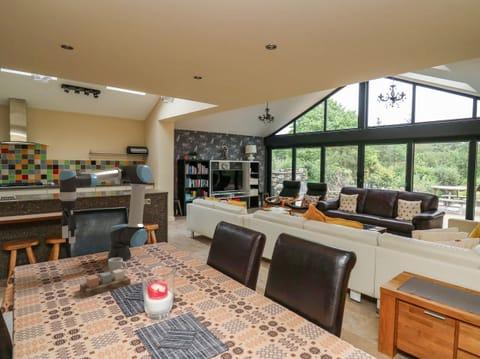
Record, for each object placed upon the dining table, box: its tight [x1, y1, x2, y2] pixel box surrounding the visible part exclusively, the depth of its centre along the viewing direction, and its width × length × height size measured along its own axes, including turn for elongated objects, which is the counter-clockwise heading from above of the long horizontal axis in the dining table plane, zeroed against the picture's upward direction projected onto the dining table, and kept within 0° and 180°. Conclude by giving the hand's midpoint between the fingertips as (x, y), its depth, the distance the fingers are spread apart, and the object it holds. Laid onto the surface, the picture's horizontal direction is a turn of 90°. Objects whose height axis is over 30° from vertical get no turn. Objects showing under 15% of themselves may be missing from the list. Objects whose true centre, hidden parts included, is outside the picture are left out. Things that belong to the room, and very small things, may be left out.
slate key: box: [99, 271, 112, 285], centre depth 149 cm, size 4×4×4 cm
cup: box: [107, 257, 127, 274], centre depth 169 cm, size 11×8×8 cm
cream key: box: [112, 269, 125, 281], centre depth 153 cm, size 4×4×4 cm
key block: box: [79, 274, 132, 298], centre depth 149 cm, size 21×11×3 cm, turn 136°
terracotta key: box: [85, 274, 100, 288], centre depth 144 cm, size 4×4×4 cm
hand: (68, 240), depth 149 cm, fingers open, 13 cm apart
